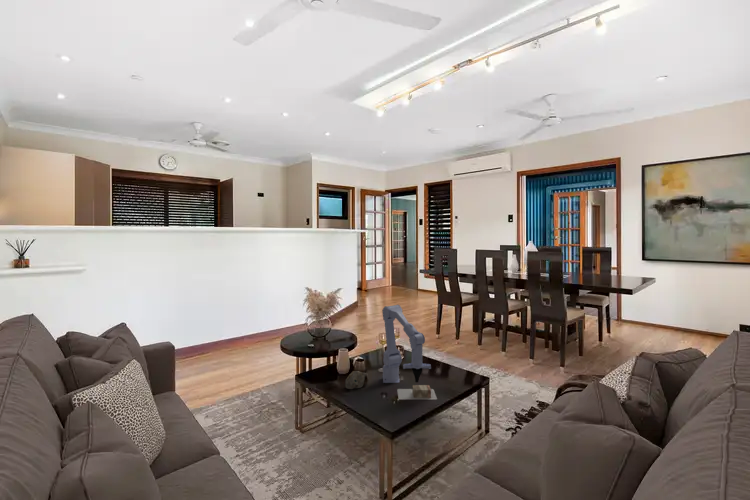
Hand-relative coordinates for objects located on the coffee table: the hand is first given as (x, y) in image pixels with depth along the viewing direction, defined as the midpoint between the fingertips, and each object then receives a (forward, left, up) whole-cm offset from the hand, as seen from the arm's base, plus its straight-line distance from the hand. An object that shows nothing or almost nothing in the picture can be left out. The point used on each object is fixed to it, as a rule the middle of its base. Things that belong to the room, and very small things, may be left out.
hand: (416, 381), depth 191 cm
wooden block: (-2, 0, -5) cm, 6 cm away
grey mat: (0, +1, -8) cm, 8 cm away
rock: (-32, +11, -8) cm, 35 cm away
